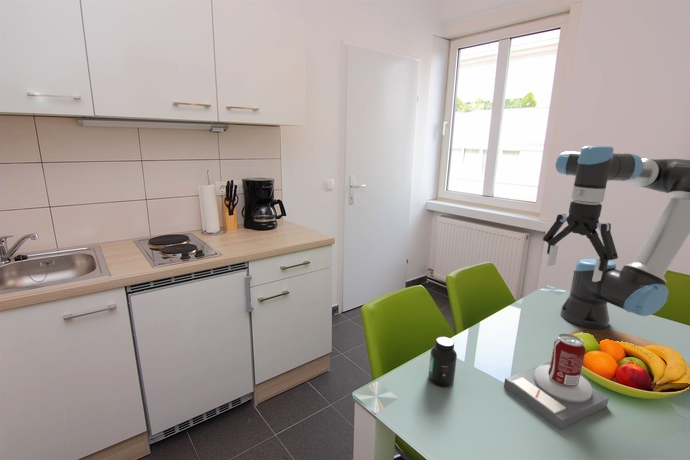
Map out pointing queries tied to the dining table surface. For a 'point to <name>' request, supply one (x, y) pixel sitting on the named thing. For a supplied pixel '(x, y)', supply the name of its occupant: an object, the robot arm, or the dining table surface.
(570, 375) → the soda can
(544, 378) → the scale
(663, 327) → the dining table surface
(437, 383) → the supplement bottle
